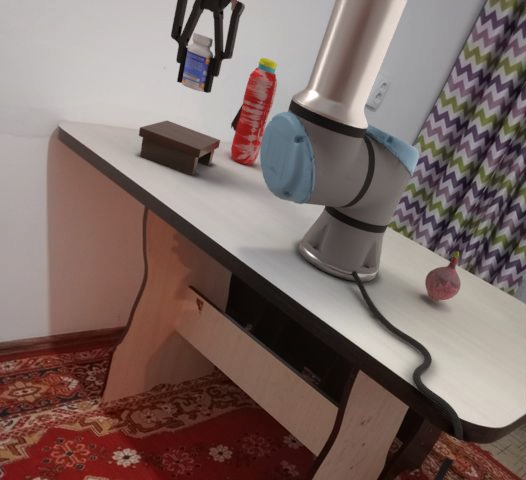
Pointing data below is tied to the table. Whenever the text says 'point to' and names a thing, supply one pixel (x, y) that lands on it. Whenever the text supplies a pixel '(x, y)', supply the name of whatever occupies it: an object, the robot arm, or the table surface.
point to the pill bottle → (197, 62)
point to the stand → (177, 146)
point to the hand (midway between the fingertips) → (194, 86)
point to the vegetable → (443, 281)
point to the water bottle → (254, 113)
